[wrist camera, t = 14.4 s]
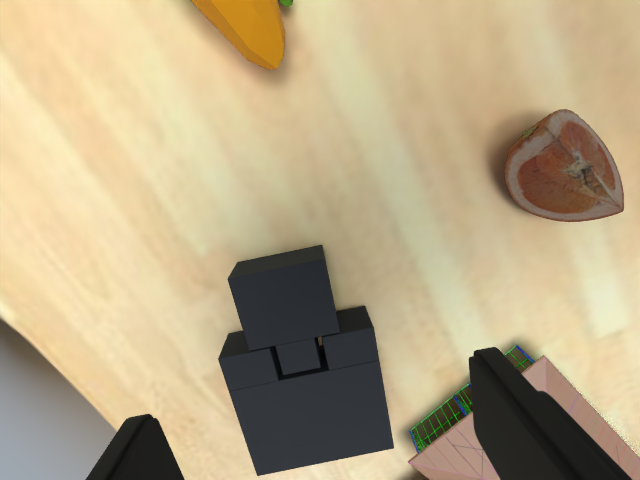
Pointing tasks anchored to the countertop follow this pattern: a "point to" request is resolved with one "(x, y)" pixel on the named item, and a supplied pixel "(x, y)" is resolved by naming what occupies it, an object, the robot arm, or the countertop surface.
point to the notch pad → (310, 399)
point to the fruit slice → (564, 171)
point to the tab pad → (286, 305)
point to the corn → (250, 27)
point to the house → (469, 457)
